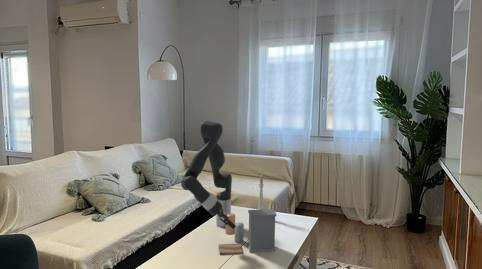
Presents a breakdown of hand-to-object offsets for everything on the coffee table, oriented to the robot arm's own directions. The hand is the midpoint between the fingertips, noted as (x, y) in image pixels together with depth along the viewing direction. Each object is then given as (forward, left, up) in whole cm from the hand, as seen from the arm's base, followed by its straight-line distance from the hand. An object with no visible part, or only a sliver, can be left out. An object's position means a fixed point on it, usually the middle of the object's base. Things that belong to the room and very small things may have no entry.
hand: (233, 225), depth 182 cm
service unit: (0, +15, -14) cm, 20 cm away
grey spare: (-10, +4, -14) cm, 17 cm away
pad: (0, -2, -14) cm, 14 cm away
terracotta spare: (0, -2, -4) cm, 5 cm away
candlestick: (-45, +23, -14) cm, 53 cm away
